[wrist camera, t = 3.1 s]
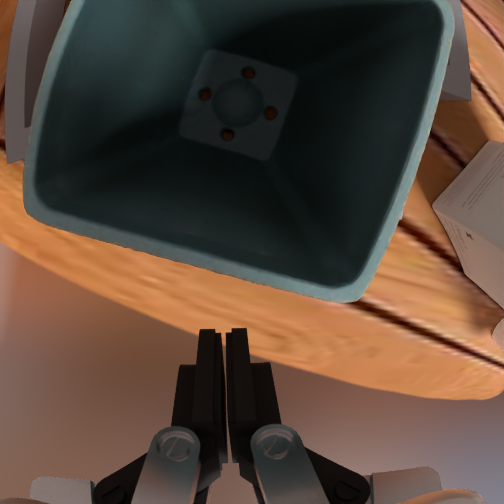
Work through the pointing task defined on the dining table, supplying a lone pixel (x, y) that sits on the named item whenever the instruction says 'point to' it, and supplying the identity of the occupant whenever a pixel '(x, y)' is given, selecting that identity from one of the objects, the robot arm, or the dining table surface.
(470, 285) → the dining table surface
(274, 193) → the flower pot
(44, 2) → the stepped grey frame
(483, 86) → the dining table surface
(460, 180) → the supplement box
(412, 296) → the dining table surface
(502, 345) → the white plastic fitting
